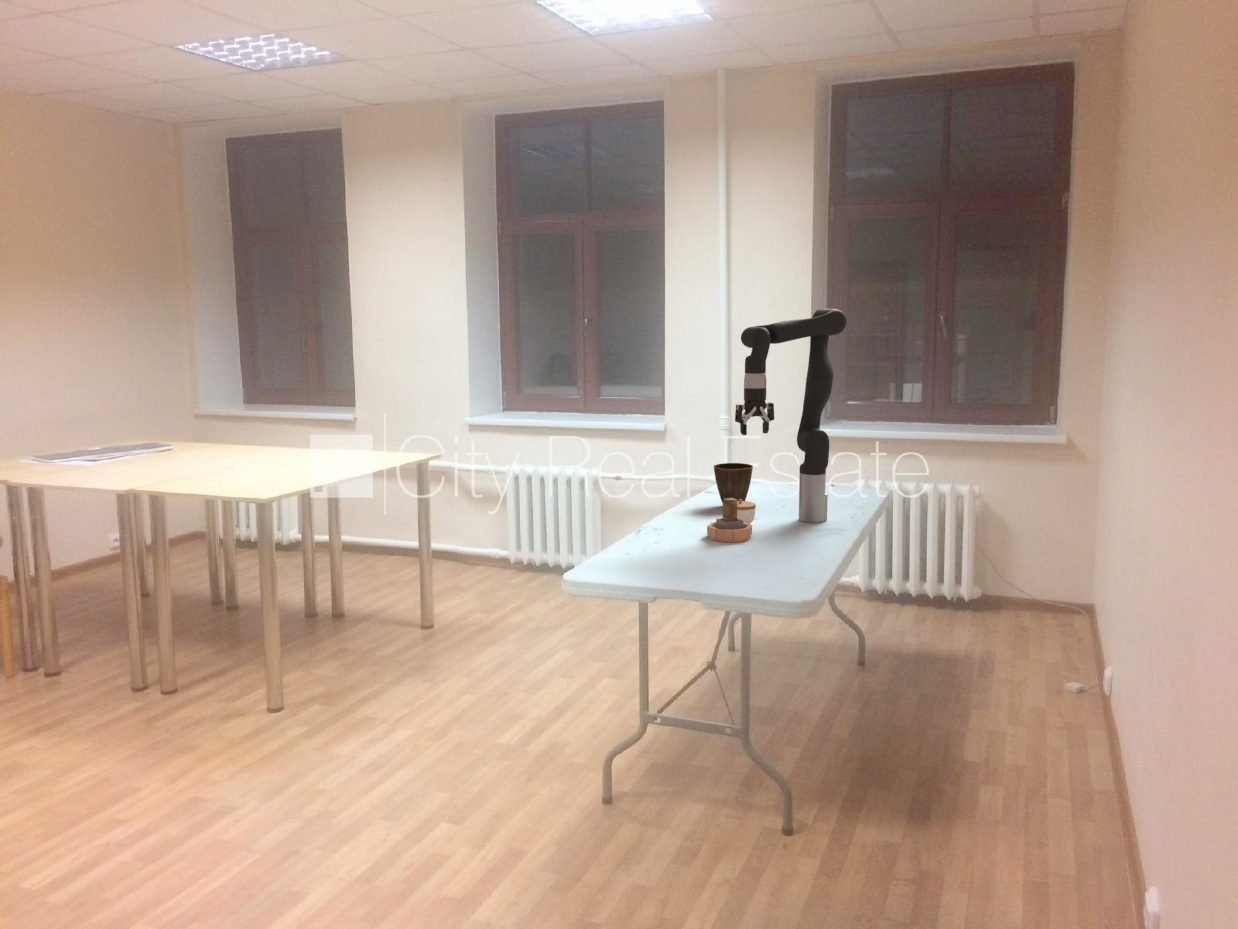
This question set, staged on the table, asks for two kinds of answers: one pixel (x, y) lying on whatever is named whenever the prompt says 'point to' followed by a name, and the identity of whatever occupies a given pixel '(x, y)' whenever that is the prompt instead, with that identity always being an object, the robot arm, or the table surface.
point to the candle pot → (729, 531)
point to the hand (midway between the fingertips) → (754, 434)
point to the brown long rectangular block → (729, 509)
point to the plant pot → (733, 480)
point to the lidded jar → (745, 511)
